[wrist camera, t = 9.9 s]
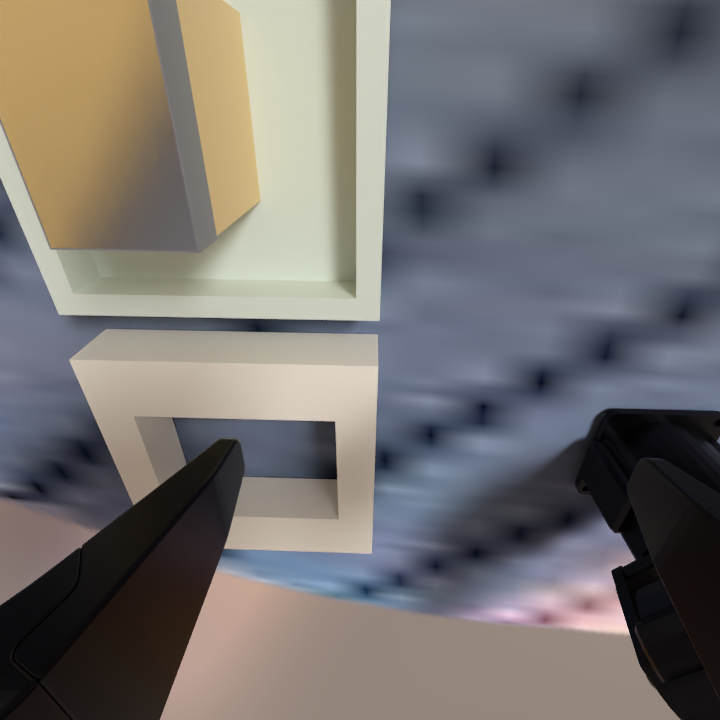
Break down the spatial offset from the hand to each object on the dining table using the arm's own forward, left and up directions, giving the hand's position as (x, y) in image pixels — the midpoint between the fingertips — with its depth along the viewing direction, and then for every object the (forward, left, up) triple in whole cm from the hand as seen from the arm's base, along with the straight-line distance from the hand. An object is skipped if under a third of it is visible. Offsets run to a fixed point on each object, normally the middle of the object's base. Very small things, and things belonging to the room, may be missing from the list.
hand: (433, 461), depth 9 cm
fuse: (+8, -7, -11) cm, 15 cm away
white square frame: (+8, +10, -12) cm, 17 cm away
